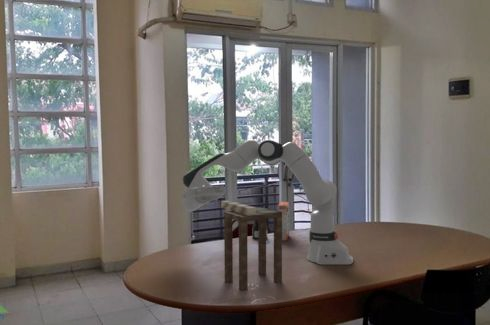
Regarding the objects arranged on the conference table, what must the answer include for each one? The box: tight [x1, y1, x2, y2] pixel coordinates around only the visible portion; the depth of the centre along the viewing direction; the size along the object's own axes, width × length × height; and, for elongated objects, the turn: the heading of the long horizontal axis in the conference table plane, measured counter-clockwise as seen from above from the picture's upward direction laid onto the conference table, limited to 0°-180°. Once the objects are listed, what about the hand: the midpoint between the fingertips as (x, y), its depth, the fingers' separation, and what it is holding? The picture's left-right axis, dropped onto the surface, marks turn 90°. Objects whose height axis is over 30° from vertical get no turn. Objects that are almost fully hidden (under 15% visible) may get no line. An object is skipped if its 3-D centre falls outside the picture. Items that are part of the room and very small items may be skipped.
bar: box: [220, 199, 257, 216], centre depth 194 cm, size 22×4×3 cm, turn 33°
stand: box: [223, 206, 283, 292], centre depth 194 cm, size 14×20×30 cm
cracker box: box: [277, 201, 291, 242], centre depth 271 cm, size 14×6×21 cm, turn 168°
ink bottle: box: [251, 220, 268, 240], centre depth 272 cm, size 10×9×12 cm
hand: (212, 186), depth 213 cm, fingers open, 8 cm apart
